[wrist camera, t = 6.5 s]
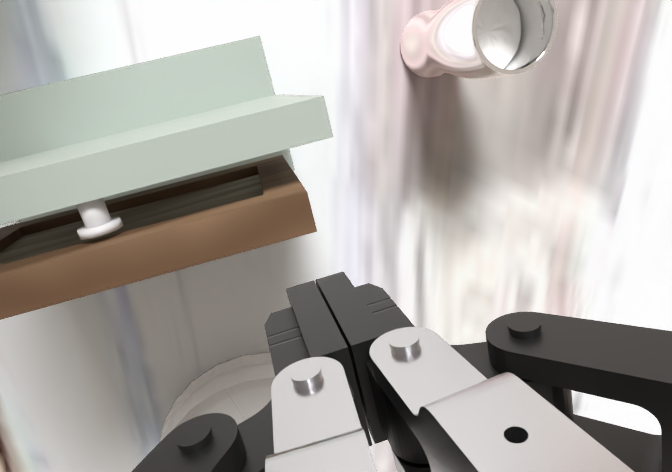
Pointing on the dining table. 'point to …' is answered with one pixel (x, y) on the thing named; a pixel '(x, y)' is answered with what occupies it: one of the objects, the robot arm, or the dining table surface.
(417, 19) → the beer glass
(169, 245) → the frame
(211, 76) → the board
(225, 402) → the dish
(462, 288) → the dining table surface
